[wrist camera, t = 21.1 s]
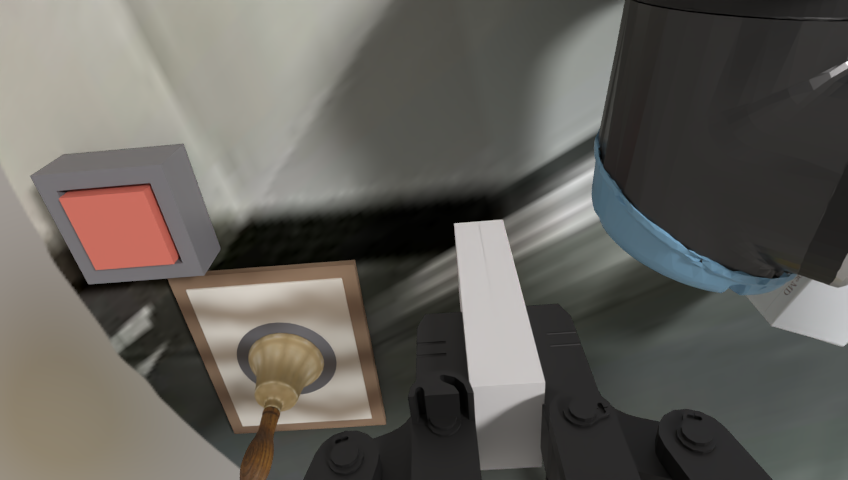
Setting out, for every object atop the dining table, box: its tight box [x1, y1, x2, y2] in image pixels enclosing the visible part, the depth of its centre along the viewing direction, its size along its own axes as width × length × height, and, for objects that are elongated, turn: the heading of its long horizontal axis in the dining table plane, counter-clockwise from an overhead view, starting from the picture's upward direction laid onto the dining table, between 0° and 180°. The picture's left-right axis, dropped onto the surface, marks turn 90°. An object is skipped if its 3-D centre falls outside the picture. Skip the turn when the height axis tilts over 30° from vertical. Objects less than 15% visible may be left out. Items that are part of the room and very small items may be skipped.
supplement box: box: [746, 275, 848, 347], centre depth 44 cm, size 7×7×13 cm
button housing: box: [30, 144, 221, 284], centre depth 47 cm, size 11×11×4 cm
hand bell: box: [240, 333, 324, 480], centre depth 51 cm, size 8×8×16 cm
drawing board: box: [167, 260, 386, 434], centre depth 58 cm, size 24×19×1 cm
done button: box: [59, 183, 180, 270], centre depth 46 cm, size 7×7×3 cm
